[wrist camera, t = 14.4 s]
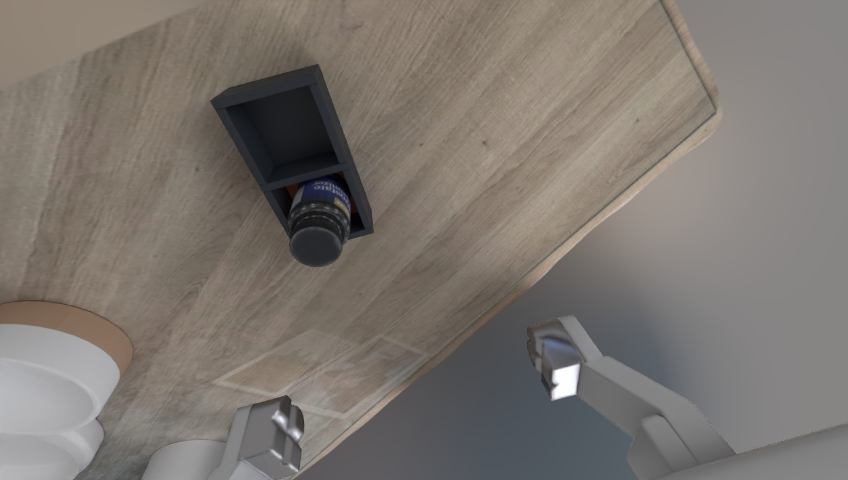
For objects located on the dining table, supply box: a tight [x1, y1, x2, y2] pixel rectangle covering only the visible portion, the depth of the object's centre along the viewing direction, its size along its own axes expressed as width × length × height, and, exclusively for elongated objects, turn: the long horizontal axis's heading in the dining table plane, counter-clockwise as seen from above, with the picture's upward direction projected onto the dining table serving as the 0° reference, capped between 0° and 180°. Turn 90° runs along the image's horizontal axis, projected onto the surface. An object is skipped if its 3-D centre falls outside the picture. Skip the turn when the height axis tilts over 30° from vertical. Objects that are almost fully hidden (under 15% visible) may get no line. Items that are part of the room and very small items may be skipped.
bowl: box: [0, 301, 133, 436], centre depth 43 cm, size 17×17×8 cm
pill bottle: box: [287, 173, 351, 267], centre depth 35 cm, size 6×6×11 cm
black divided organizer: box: [210, 64, 374, 240], centre depth 35 cm, size 17×9×5 cm, turn 12°
